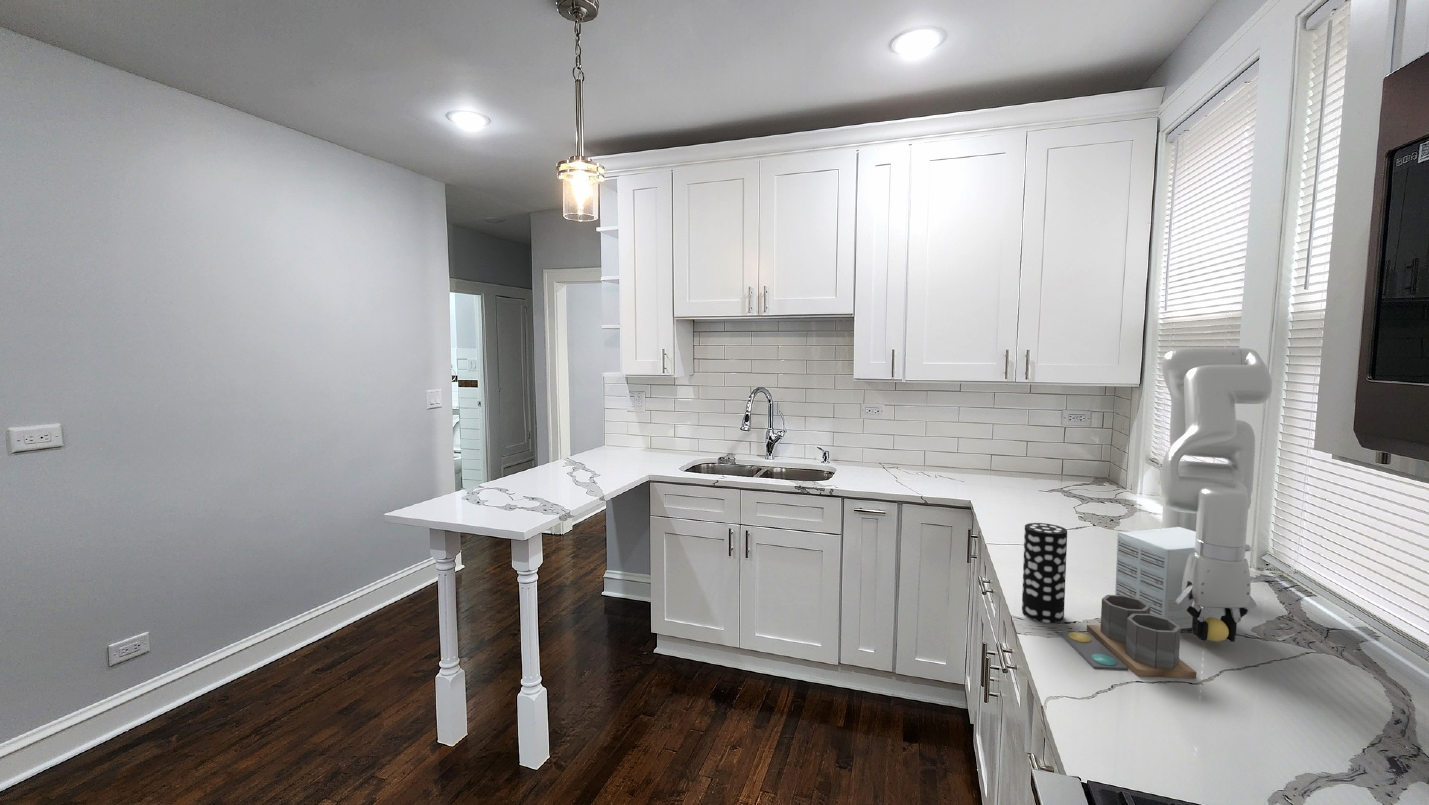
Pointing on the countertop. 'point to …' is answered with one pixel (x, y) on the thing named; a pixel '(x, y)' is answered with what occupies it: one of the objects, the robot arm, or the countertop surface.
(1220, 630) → the ochre ball
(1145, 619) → the double cup sorting tray
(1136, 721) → the countertop surface
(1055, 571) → the spotted tube
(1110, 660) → the card
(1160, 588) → the supplement box
